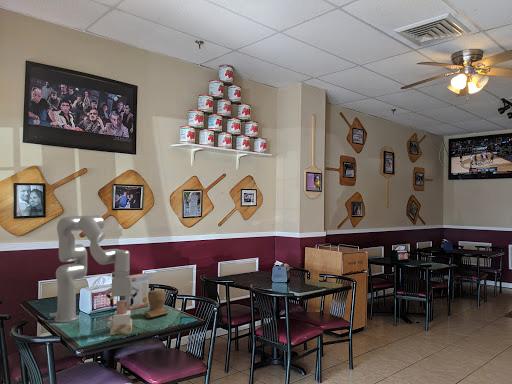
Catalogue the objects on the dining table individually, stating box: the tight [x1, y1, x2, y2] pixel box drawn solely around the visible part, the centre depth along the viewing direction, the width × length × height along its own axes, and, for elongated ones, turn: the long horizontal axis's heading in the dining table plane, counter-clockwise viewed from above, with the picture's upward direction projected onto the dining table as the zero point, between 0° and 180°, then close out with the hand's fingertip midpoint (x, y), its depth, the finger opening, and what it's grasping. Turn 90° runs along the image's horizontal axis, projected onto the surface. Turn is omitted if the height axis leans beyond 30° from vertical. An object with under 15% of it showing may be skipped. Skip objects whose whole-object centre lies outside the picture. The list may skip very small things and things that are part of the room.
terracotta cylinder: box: [116, 299, 128, 314], centre depth 216 cm, size 5×5×6 cm
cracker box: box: [124, 273, 150, 311], centre depth 262 cm, size 14×6×21 cm, turn 136°
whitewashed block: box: [113, 310, 132, 325], centre depth 216 cm, size 8×8×5 cm
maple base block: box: [109, 318, 133, 336], centre depth 216 cm, size 10×10×5 cm
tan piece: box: [143, 289, 170, 319], centre depth 245 cm, size 15×12×15 cm
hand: (121, 306), depth 216 cm, fingers open, 9 cm apart
